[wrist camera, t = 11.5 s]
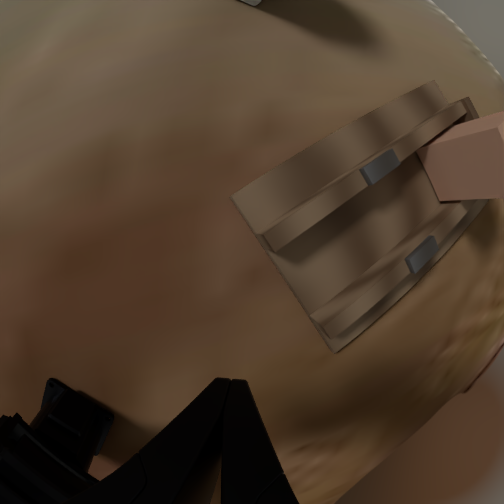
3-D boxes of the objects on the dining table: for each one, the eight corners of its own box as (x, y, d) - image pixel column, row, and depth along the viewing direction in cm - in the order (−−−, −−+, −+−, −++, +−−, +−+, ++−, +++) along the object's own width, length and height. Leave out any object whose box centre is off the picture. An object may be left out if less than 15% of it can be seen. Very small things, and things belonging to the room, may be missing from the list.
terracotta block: (439, 201, 21) (521, 197, 12) (415, 149, 20) (497, 127, 11) (463, 176, 21) (536, 168, 13) (442, 129, 20) (514, 107, 12)
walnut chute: (330, 350, 22) (352, 371, 18) (229, 197, 19) (236, 190, 15) (484, 199, 24) (510, 198, 20) (429, 82, 21) (453, 69, 17)
